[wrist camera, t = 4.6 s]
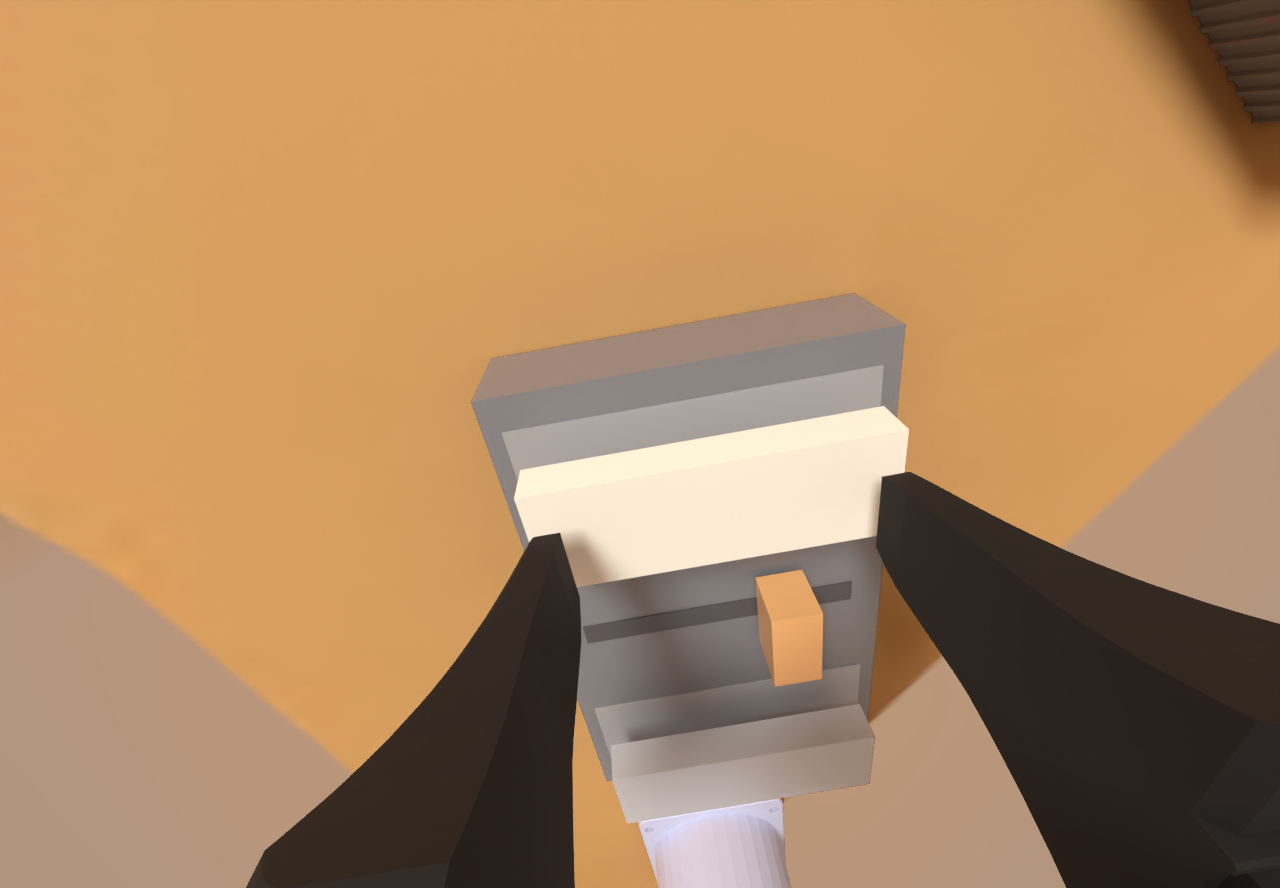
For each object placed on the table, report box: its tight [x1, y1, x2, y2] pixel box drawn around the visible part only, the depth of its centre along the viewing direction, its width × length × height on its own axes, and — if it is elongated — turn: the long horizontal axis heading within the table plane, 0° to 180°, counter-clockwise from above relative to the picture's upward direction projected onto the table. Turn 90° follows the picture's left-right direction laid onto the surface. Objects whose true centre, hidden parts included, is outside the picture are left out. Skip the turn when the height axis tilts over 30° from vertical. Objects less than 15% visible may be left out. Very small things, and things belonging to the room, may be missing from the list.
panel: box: [471, 293, 906, 781], centre depth 19 cm, size 18×11×3 cm, turn 9°
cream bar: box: [514, 406, 909, 587], centre depth 13 cm, size 3×9×1 cm, turn 99°
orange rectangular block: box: [755, 570, 823, 687], centre depth 17 cm, size 3×2×2 cm, turn 9°
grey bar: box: [611, 704, 875, 823], centre depth 19 cm, size 3×9×1 cm, turn 99°
